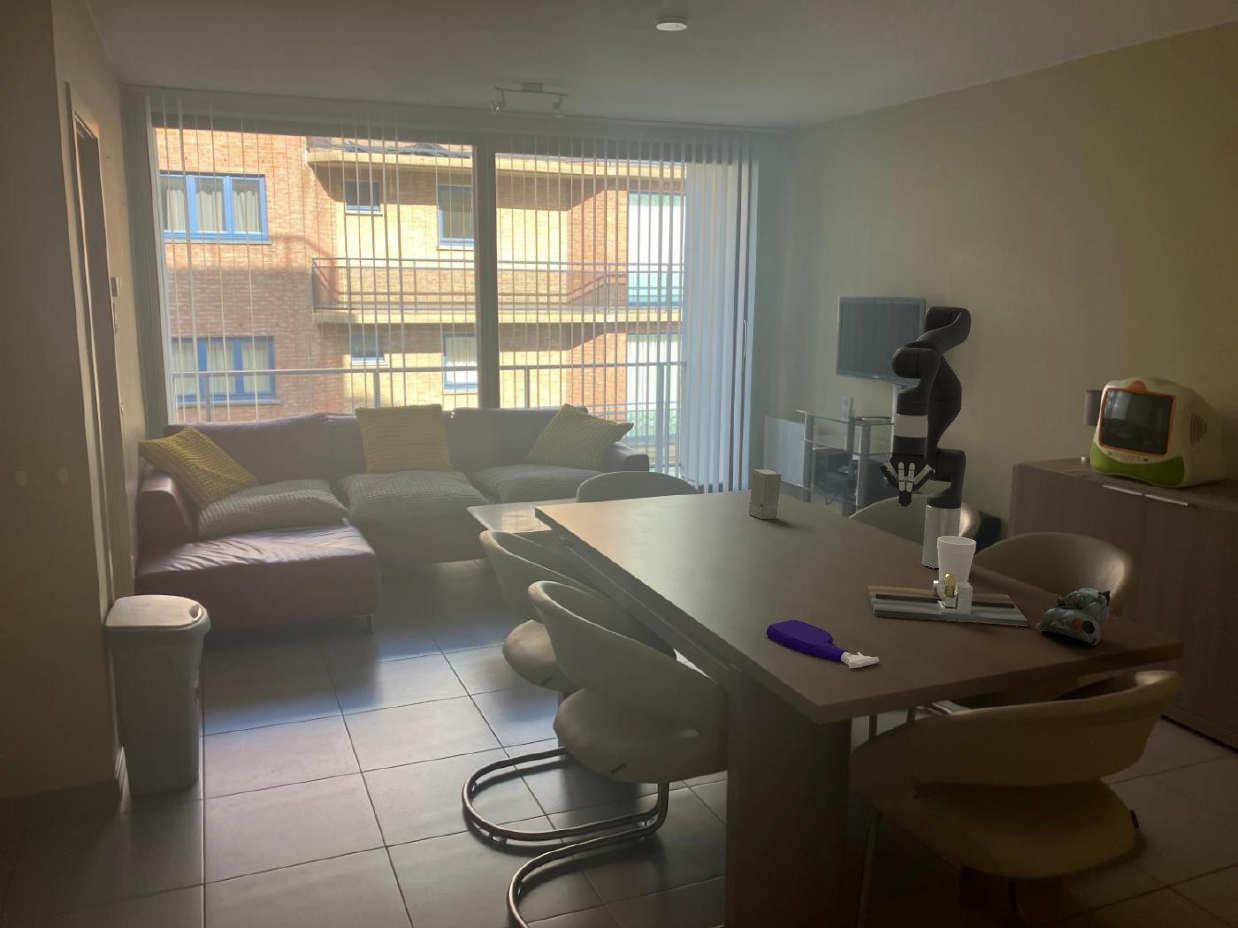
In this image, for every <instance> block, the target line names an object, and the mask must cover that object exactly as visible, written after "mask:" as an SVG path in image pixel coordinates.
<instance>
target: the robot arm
mask: <svg viewBox="0 0 1238 928" xmlns="http://www.w3.org/2000/svg"><path fill="white" fill-rule="evenodd" d="M923 321H924V322H923V334H921V335H920V336H919V337H918V338H917V339H916V340H915V341H912V342H909V343H907V344H904V345H902V346H900V347H899V348H897V349H896V351H895V352H894V354H893V356H892V358H891V362H890V363H891V365H890V366H891V369H892V371H893V373H894V374H895V375H896V377H899V378H902V379H914V380H915V379H918V380H919V379H920V382H919V383H918V385H917V386H915V387H908V388H902V389H900V390H899V391H898V392H897V398H896V399H897V400H896V415H895V419H894V424H893V425H894V426H893V439H892V453H891V456H890V458H889V461H888V462H886V463H884V464H882V465H880V467H879V469H880V471H881V473H882V474H883V475H884V476H885V478H886V480H887V481H888V482H889V484H890V486H892V488H896V490H898V492H899V493H898V503H899V504H900V506H901V507H904V508H908V507H909V506H910V505H911V504H912V501H913V491H919V490H920V489H921V488H922V487H923V486H924V484H926V483H927V482H928V480H930V481H935V482H943V483H944V482H945V483H950V486H948V487H947V488H945V489H943V490H938V491H935V492H931V493H928V495H927V496H926V507H925V518H924V519H925V520H924V521H925V522H924V532H923V542H922V543H923V545H922V555H921V556H922V557H921V565H923V566H924V567H926V566H929V567H928V568H930V567H932V568H931V569H935V568H939V564H938V548H937V540H938V537H942V536H957V537H960V536H959V535H960V526H961V525H960V524H961V515H962V513H961V511H962V499H963V498H962V497H963V487H964V481H965V473H966V466H967V456H966V452H965V451H964V450H963V449H955V448H945V447H943V448H941V447H939V446H938V445H939V441H940V439H941V438H942V436H943V435H944V433H945V432H946V430H948V428H949V427H950V426H951V425H952V424H953V423H954V421H955V420H956V419H957V418H958V415H959V414H960V413H961V411H962V398H963V397H962V396H963V394H962V393H963V389H962V388H963V387H962V384H961V383H962V382H961V381H960V380H959V378H958V375H957V374H956V373H955V371H954V370H953V368H952V367H951V365H950V364H949V363H948V361H947V359H946V358H945V355H944V354H945V353H947V352H948V351H950V350H952V349H953V348H956V347H957V346H959V345H961V344H963V343H964V342H965V341H967V339H968V337H969V335H970V331H971V328H972V327H971V326H972V316H971V313H970V311H969V310H968V309H966V308H965V307H958V306H944V305H943V306H942V305H941V306H940V305H933V306H929V307H928V308H927V309H926V311H925V315H924V319H923ZM892 470H894V472H895V473H896V475H898V479H897V478H896V477H895V475H894V474H893V472H892ZM922 471H923V475H924V476H923V477H922V478H921V479H920V480H919V481H918V482H917V483H915V480H916V477H917V476H918V475H919V474H920V473H921V472H922Z"/></svg>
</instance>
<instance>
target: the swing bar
mask: <svg viewBox="0 0 1238 928" xmlns="http://www.w3.org/2000/svg"><path fill="white" fill-rule="evenodd" d="M956 577H957V575H955V574H946V578H945V580H939V579H934V580H933V583H932V584H933V585H932V590H935V591H937V593H938V595H939V596H940V598H941V600H942V602H943V604H944V605H945V606H951V607H956V597H955V589H956Z"/></svg>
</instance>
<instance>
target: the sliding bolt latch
mask: <svg viewBox="0 0 1238 928" xmlns="http://www.w3.org/2000/svg"><path fill="white" fill-rule="evenodd" d="M867 590H868V591H867V593H868V597H870V598H869V602H870V601H871V602H870V605H871V604H872V605H871V608H873V609H872V612H873V615H875V616H874V617H884V616H887V617H888V618H900V619H911V618H918V619H917V620H924V619H940V620H956V621H958V620H962V621H979V622H995V623H1006V624H1007V623H1008V624H1018V625H1027V626H1028V619H1027V618H1026V617H1025V615H1024V613H1023V612H1022V611H1021V610H1020V609H1019V608H1018V606H1017V605H1016V604H1015V603H1014V601H1013V600H1012V598H1011V597H1010V596H1009V594H1001V593H985V592H972V603H971V615H958V614H945V613H940V611H939V609H938V607H937V601H942V600H941V598H940V596H939V595H938V593H937V591H935V590H933V589H930V588H914V587H900V586H889V585H888V586H885V585H873V584H872V585H871V584H867ZM887 617H886V618H887Z"/></svg>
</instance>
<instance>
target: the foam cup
mask: <svg viewBox="0 0 1238 928" xmlns="http://www.w3.org/2000/svg"><path fill="white" fill-rule="evenodd" d="M976 547H977V541H976V540H974V539H972V538H968V537H963V536H959V537H957V536H942V537H938V540H937V548H938V564H939V569H938V578H939V579H938V580H945V578H946V574H955V575H957V577H956V582H969V578H970V572H971V568H972V563H973V559H974V555H975V553H976Z"/></svg>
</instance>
